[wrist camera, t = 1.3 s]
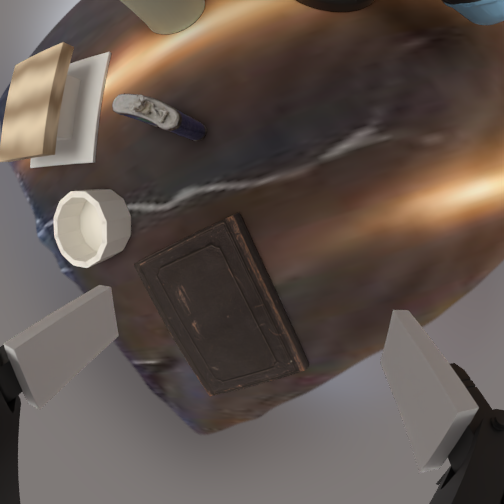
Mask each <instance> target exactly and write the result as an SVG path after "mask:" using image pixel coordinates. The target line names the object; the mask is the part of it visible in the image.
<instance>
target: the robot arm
mask: <svg viewBox="0 0 504 504" xmlns="http://www.w3.org/2000/svg"><path fill="white" fill-rule="evenodd" d="M297 1H299V2H301V3H303V4H305V5H308V6H311V7H314V8H317V9H322V10H327V11H336V12H346V11H354V10H359V9H362V8H364V7H367V6H368V5H370V4H371V3H372V2H373V1H374V0H297ZM442 1H443V3H444V4H445V5H447V6H449V7H452V8H454V9H455V10H456V11H458V12H459V13H460V14H462V15H463V16H464V17H466V18H467V19H468V20H470V21H471V22H473V23H475V24H479V25H493V24H496V23H499V22H502V21H504V0H442ZM118 336H119V335H118V330H117V324H116V318H115V312H114V305H113V298H112V291H111V287H108V286H102V285H99V286H97V287H95V288H93V289H92V290H90V291H88V292H87V293H85V294H83V295H81V296H80V297H78V298H76V299H75V300H73V301H71V302H70V303H68V304H66V305H65V306H63V307H61V308H60V309H58V310H56V311H55V312H53V313H51V314H50V315H48V316H47V317H45V318H43V319H42V320H40V321H38V322H37V323H35V324H33V325H32V326H30V327H29V328H27V329H25V330H24V331H22V332H21V333H19V334H18V335H16V336H14V337H13V338H11V339H10V340H8V341H7V342H5V343H4V345H3V346H1V347H0V504H20V496H19V483H18V482H19V481H18V432H19V417H20V407H21V401H20V398H19V396H18V395H19V394H20V393H21V392H23V394H24V396H25V398H26V400H27V402H28V403H29V404H30V405H32V406H34V407H35V408H37V409H39V410H40V409H41V408H42V407H43V406H44V405H45V404H46V403H47V402H48V401H49V400H51V399H52V398H53V397H54V396H55V395H56V394H57V393H58V392H59V391H60V390H61V389H62V388H63V387H64V386H65V385H66V384H67V383H68V382H69V381H70V380H71V379H72V378H73V377H75V376H76V375H77V374H78V373H79V372H80V371H81V370H82V369H83V368H84V367H85V366H86V365H87V364H88V363H90V362H91V361H92V360H93V359H94V358H95V357H96V356H97V355H98V354H99V353H100V352H101V351H102V350H104V349H105V348H106V347H107V346H108V345H109V344H110V343H111V342H112V341H113V340H115V339H116V338H117V337H118ZM380 363H381V366H382V368H383V371H384V373H385V376H386V378H387V381H388V383H389V386H390V389H391V391H392V394H393V396H394V399H395V402H396V404H397V407H398V410H399V413H400V415H401V418H402V421H403V424H404V427H405V429H406V432H407V435H408V438H409V441H410V444H411V447H412V450H413V454H414V457H415V460H416V463H417V466H418V470H419V473H422V472H426V471H431V470H435V469H439V468H440V467H441V466H442V464H443V463H444V461H445V460H446V459H447V458H448V459H449V461H450V464H451V466H450V467H449V469H448V470H447V471H446V473H445V474H444V475H443V476H442V477H441V479H440V480H439V481H438V482H437V483H436V484H438V485H439V484H440V485H439V487H438V489H437V491H436V493H435V495H434V496H433V498H432V500H431V502H430V504H504V410H499V409H494V410H492V409H491V407H490V406H489V404H488V403H487V401H486V400H485V399H484V397H483V395H482V394H481V392H480V391H479V390H478V388H477V387H475V384H474V383H473V381H471V380H470V377H469V376H468V375H467V373H466V372H465V371H464V370H463V369H462V368H460V367H459V366H458V365H456V364H455V363H453V364H449V363H448V362H447V360H446V359H445V358H444V356H443V355H442V353H441V352H440V351H439V349H438V348H437V346H436V345H435V344H434V342H433V341H432V340H431V338H430V337H429V336H428V335H427V333H426V332H425V331H424V329H423V328H422V327H421V326H420V324H419V323H418V322H417V320H416V319H415V318H414V317H413V315H412V314H411V313H410V312H409V310H393V312H392V317H391V322H390V326H389V330H388V334H387V338H386V342H385V346H384V350H383V354H382V358H381V361H380Z"/></svg>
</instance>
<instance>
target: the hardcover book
mask: <svg viewBox="0 0 504 504" xmlns="http://www.w3.org/2000/svg"><path fill="white" fill-rule="evenodd" d="M134 266H135V268H136V270H137V272H138V274H139V276H140V278H141V280H142V282H143V284H144V286H145V288H146V290H147V292H148V294H149V296H150V297H151V299H152V301H153V303H154V305H155V307H156V309H157V310H158V312H159V314H160V316H161V318H162V319H163V321H164V323H165V325H166V327H167V328H168V330H169V332H170V333H171V335H172V337H173V339H174V340H175V342H176V344H177V345H178V347H179V349H180V350H181V352H182V354H183V355H184V357H185V358H186V360H187V362H188V363H189V365H190V366H191V368H192V370H193V371H194V373H195V374H196V376H197V377H198V379H199V380H200V382H201V383H202V385H203V387H204V388H205V390H206V391H207V392H208V394H209V395H210V396H213V395H218V394H222V393H226V392H231V391H235V390H239V389H243V388H247V387H251V386H254V385H258V384H262V383H265V382H269V381H272V380H276V379H279V378H282V377H286V376H289V375H292V374H295V373H299V372H302V371H305V370H306V369H307V368H308V367H309V363H308V360H307V358H306V356H305V354H304V352H303V349H302V347H301V345H300V343H299V341H298V338H297V336H296V334H295V332H294V330H293V328H292V325H291V323H290V321H289V319H288V317H287V315H286V312H285V310H284V308H283V306H282V304H281V302H280V299H279V297H278V295H277V293H276V291H275V289H274V286H273V284H272V282H271V280H270V278H269V276H268V273H267V271H266V269H265V267H264V265H263V263H262V260H261V258H260V256H259V254H258V252H257V250H256V248H255V245H254V243H253V241H252V239H251V237H250V235H249V232H248V230H247V228H246V226H245V224H244V222H243V220H242V217H241V215H240V213H237V214H235V215H232V216H230V217H228V218H226V219H224V220H222V221H220V222H218V223H215V224H213V225H211V226H209V227H207V228H205V229H203V230H201V231H199V232H197V233H195V234H193V235H191V236H188V237H186V238H184V239H182V240H180V241H178V242H176V243H174V244H172V245H170V246H168V247H166V248H164V249H162V250H160V251H158V252H156V253H154V254H152V255H150V256H148V257H146V258H144V259H142V260H141V261H139V262H137V263H135V264H134Z"/></svg>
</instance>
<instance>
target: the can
mask: <svg viewBox="0 0 504 504" xmlns="http://www.w3.org/2000/svg"><path fill="white" fill-rule="evenodd" d="M120 1H121V2H123V3H124V4H125V5H126V6H127V7H128V8H130V9H131V10H132V11H133V12H134V13H135V14H136V15H137V16H138V17H140V18H141V19H142V20H143V21H144V22H145V23H146V24H147V25H148V27H149V28H150V30H152V31H153V32H155V33H158V34H173V33H176V32H179V31H182V30H184V29H186V28H187V27H189V26H191V25H192V24H193V23H194V22H195V21H196V20H197V19H198V18H199V17H200V16H201V14H202V13H203V10H204V7H205V1H204V0H120Z"/></svg>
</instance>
